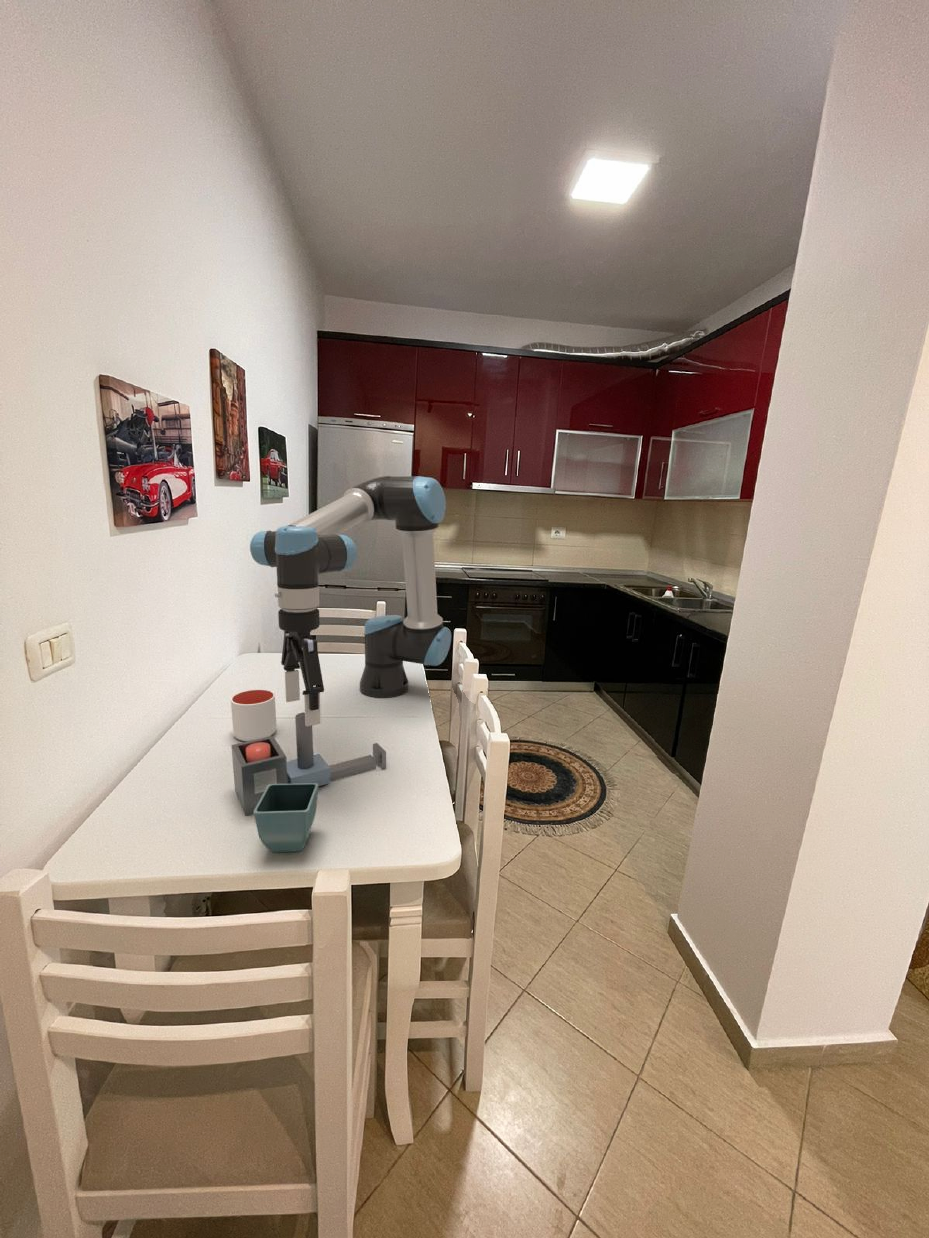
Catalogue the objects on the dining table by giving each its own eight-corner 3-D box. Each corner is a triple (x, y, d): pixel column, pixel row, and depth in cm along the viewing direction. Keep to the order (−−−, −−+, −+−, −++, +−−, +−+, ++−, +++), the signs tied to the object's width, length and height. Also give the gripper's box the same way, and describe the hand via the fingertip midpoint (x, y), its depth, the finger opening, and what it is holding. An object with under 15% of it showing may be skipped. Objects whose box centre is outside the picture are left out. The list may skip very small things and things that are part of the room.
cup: (262, 745, 123) (259, 706, 120) (224, 740, 125) (221, 702, 122) (284, 728, 132) (282, 691, 130) (249, 723, 134) (247, 687, 132)
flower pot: (270, 827, 93) (268, 782, 91) (320, 826, 94) (318, 782, 92) (255, 860, 84) (252, 812, 82) (310, 859, 85) (308, 811, 83)
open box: (275, 779, 108) (273, 735, 106) (288, 803, 100) (286, 756, 98) (234, 789, 104) (231, 744, 102) (245, 816, 96) (241, 767, 93)
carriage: (319, 770, 112) (317, 706, 109) (330, 785, 106) (328, 718, 103) (282, 780, 108) (278, 713, 104) (291, 796, 102) (288, 726, 99)
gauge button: (268, 763, 104) (267, 740, 103) (273, 772, 100) (272, 749, 99) (245, 768, 101) (243, 745, 100) (250, 778, 98) (248, 755, 97)
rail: (377, 758, 118) (376, 742, 117) (386, 768, 114) (386, 751, 113) (278, 784, 106) (277, 767, 105) (285, 796, 102) (284, 778, 101)
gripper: (263, 598, 106) (268, 695, 111) (297, 623, 86) (301, 740, 91) (299, 596, 111) (302, 689, 115) (340, 619, 90) (342, 731, 95)
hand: (302, 711), depth 103 cm, fingers open, 13 cm apart
